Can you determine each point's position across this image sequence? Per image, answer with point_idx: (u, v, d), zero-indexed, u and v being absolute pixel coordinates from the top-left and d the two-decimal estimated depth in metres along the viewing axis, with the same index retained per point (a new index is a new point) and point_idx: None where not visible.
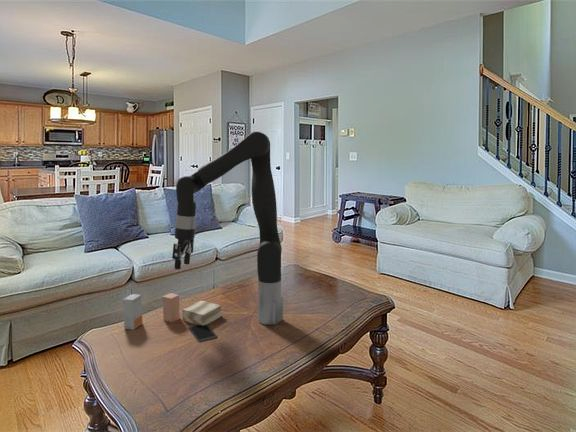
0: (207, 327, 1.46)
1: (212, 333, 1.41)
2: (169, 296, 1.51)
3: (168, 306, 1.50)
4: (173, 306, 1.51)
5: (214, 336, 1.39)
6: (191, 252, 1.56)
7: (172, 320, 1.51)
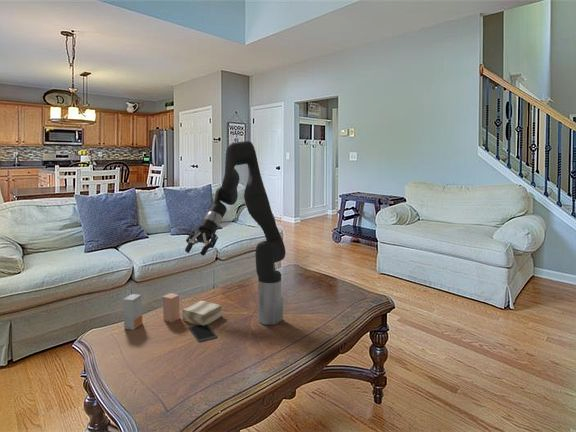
0: (207, 327, 1.46)
1: (212, 333, 1.41)
2: (169, 296, 1.51)
3: (168, 306, 1.50)
4: (173, 306, 1.51)
5: (214, 336, 1.39)
6: (208, 244, 1.62)
7: (172, 320, 1.51)
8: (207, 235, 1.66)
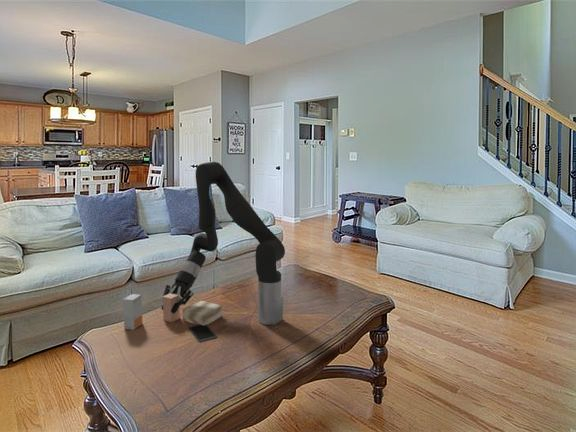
0: (207, 327, 1.46)
1: (212, 333, 1.41)
2: (169, 296, 1.51)
3: (168, 306, 1.50)
4: None
5: (214, 336, 1.39)
6: (180, 301, 1.51)
7: (172, 320, 1.51)
8: (182, 290, 1.54)
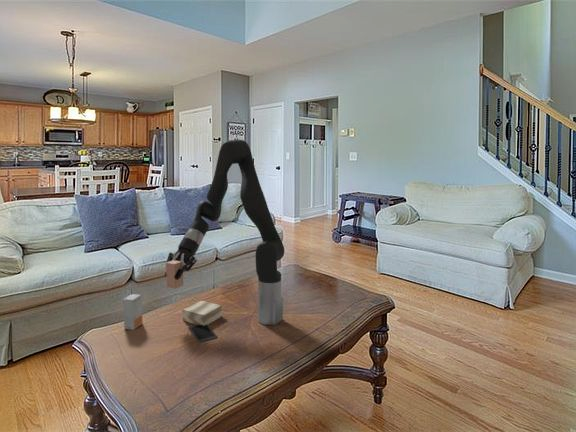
0: (207, 327, 1.46)
1: (212, 333, 1.41)
2: (172, 262, 1.49)
3: (171, 272, 1.48)
4: None
5: (214, 336, 1.39)
6: (183, 267, 1.49)
7: (175, 286, 1.49)
8: (186, 256, 1.52)
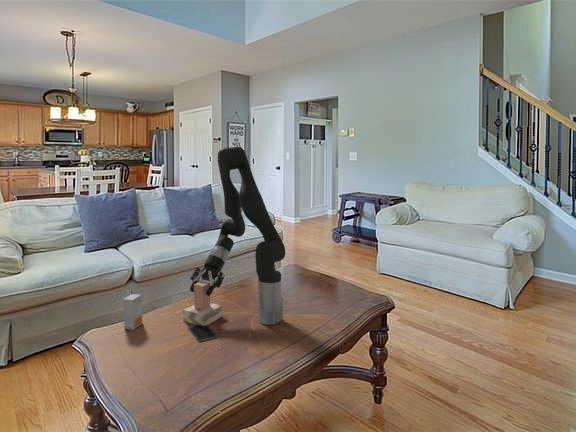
0: (207, 327, 1.46)
1: (212, 333, 1.41)
2: (200, 284, 1.52)
3: (199, 294, 1.51)
4: (205, 293, 1.52)
5: (214, 336, 1.39)
6: (214, 284, 1.51)
7: (203, 308, 1.52)
8: (213, 273, 1.54)
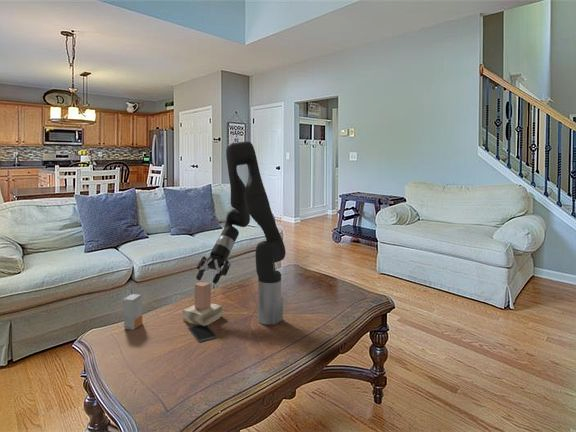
0: (207, 327, 1.46)
1: (212, 333, 1.41)
2: (201, 284, 1.52)
3: (200, 294, 1.51)
4: (205, 294, 1.51)
5: (214, 336, 1.39)
6: (221, 272, 1.54)
7: (204, 308, 1.51)
8: (219, 261, 1.57)
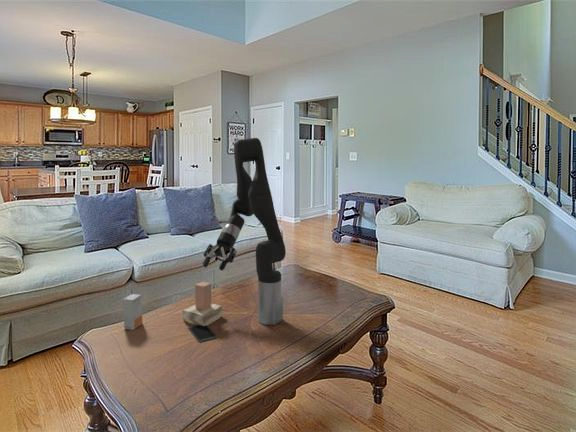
0: (207, 327, 1.46)
1: (212, 333, 1.41)
2: (201, 284, 1.52)
3: (200, 294, 1.51)
4: (206, 294, 1.51)
5: (214, 336, 1.39)
6: (227, 259, 1.57)
7: (204, 308, 1.51)
8: (225, 249, 1.60)
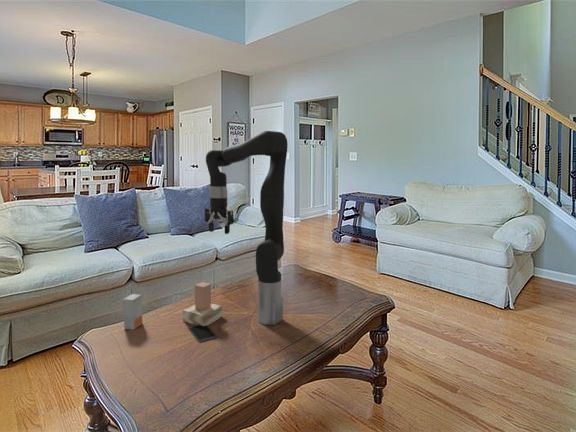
0: (207, 327, 1.46)
1: (212, 333, 1.41)
2: (201, 285, 1.51)
3: (200, 294, 1.50)
4: (205, 294, 1.51)
5: (214, 336, 1.39)
6: (228, 223, 1.63)
7: (204, 309, 1.51)
8: (222, 213, 1.64)
